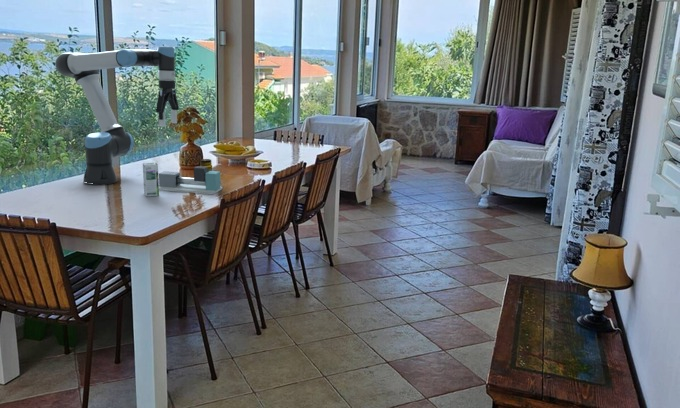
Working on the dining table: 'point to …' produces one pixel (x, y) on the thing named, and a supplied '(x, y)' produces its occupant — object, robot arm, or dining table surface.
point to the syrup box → (151, 179)
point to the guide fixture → (169, 184)
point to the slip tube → (198, 177)
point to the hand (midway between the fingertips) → (168, 124)
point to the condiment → (206, 164)
